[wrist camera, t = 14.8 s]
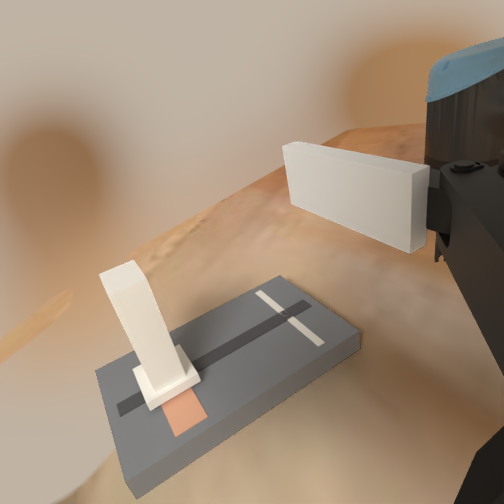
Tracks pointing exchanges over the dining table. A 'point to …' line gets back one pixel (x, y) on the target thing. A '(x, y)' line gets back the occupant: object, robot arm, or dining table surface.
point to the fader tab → (148, 336)
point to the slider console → (223, 378)
